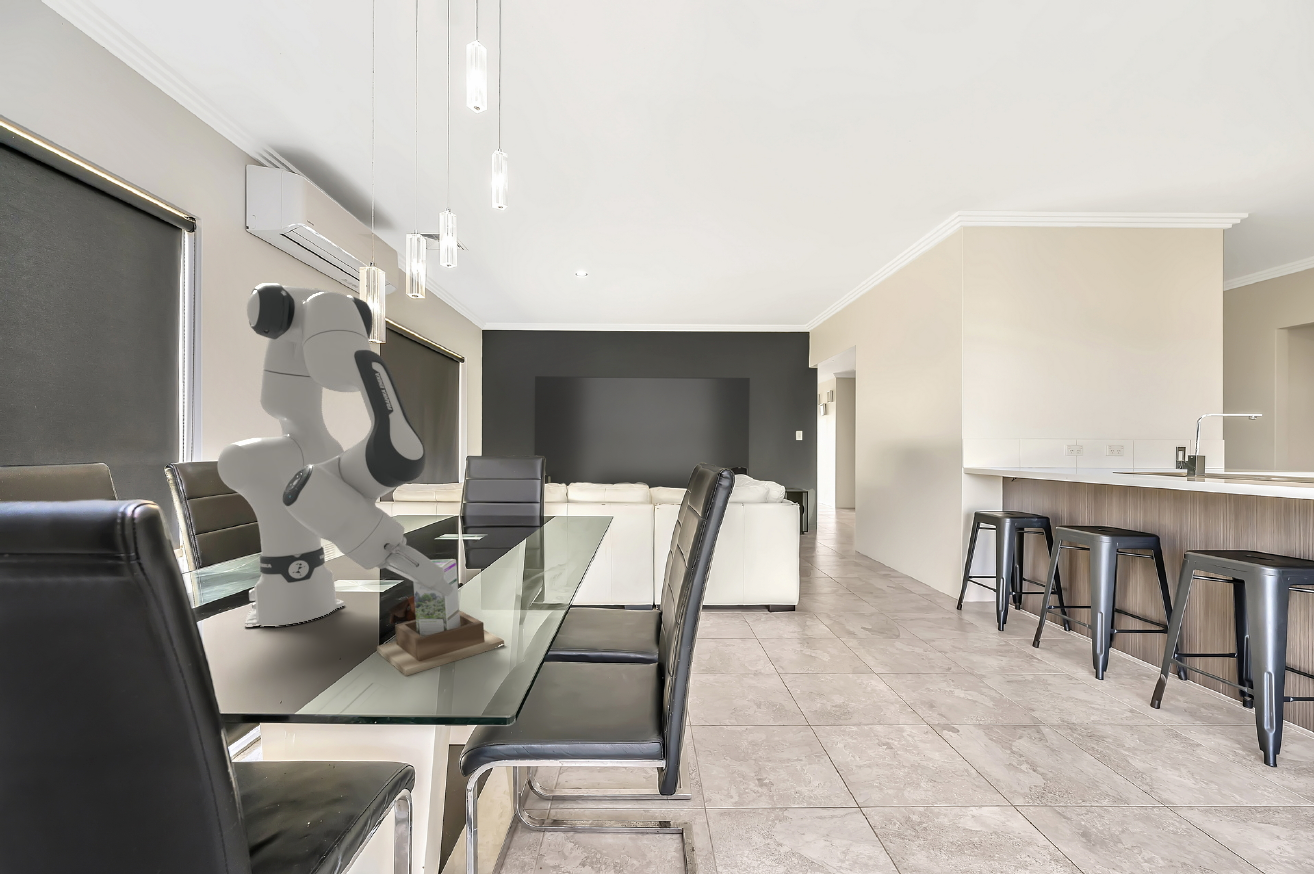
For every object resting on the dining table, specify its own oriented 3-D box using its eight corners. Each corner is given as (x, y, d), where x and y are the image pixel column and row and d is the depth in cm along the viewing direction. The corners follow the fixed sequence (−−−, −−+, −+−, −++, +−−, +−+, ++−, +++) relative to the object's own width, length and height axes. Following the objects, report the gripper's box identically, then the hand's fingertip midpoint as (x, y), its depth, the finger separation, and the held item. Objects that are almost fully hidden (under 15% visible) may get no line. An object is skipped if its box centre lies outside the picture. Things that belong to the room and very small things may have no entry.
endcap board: (377, 651, 109) (375, 626, 109) (469, 626, 120) (467, 603, 120) (405, 676, 97) (403, 648, 97) (504, 645, 108) (502, 620, 108)
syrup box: (462, 636, 111) (457, 557, 111) (448, 649, 105) (442, 565, 105) (432, 637, 112) (427, 558, 111) (416, 649, 106) (410, 566, 105)
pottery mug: (404, 647, 112) (385, 606, 114) (399, 655, 119) (382, 617, 121) (465, 615, 119) (447, 577, 121) (457, 625, 126) (440, 589, 128)
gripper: (411, 533, 95) (475, 581, 102) (372, 520, 111) (429, 563, 117) (383, 567, 93) (450, 615, 99) (347, 549, 108) (407, 592, 115)
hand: (439, 587), depth 108 cm, fingers open, 8 cm apart
